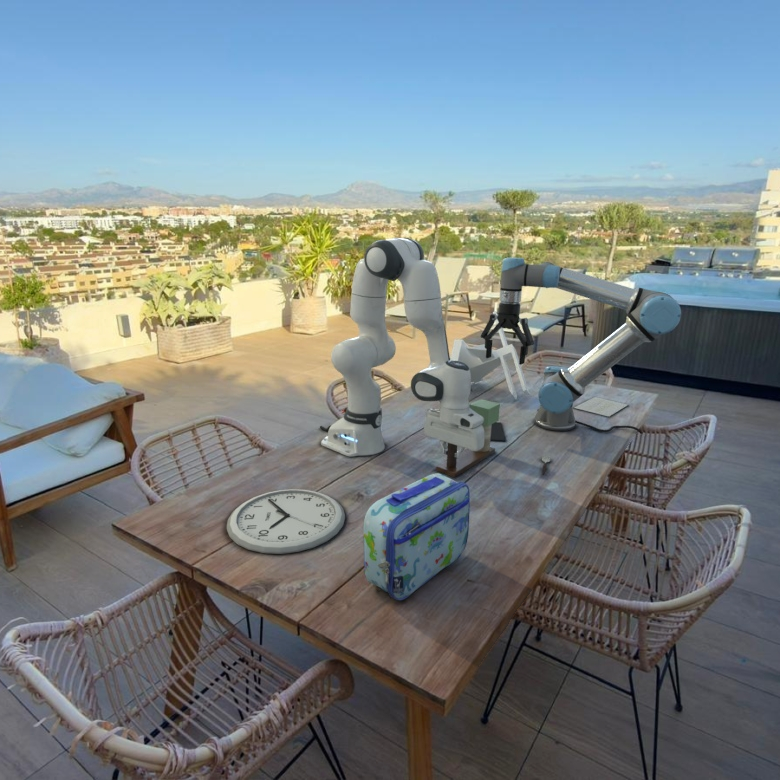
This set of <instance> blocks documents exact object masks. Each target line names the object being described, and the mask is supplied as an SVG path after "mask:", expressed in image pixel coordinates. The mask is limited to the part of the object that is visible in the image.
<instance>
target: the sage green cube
mask: <svg viewBox="0 0 780 780" xmlns="http://www.w3.org/2000/svg"><path fill="white" fill-rule="evenodd" d="M469 404H470V406H469V408H470V409H472V410H473V411H474V412H476V413H477V414H479V415H481V416H482V417H483V418H484V422H483V423H482V424H481V425H484V426H487V427H488V426H490V425H491V424H493V423H495V422H499V420H500V410H501V409H500V408H501V406H500V405H501V403H498V402H494V401H490V400H486V399H482V398H481V399H478V400H476V401H473V402H471V403H469Z"/></svg>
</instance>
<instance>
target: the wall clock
mask: <svg viewBox="0 0 780 780" xmlns="http://www.w3.org/2000/svg"><path fill="white" fill-rule="evenodd" d="M345 520H346V515H345V511H344V508H343V507H342V505H341V504H340V503H339V502H338V501H337V500H336V499H334V498H333V497H331V496H329V495H327V494H324V493H322V492H319V491H315V490H309V489H298V488H297V489H295V488H292V489H289V488H288V489H280V490H279V489H278V490H274V491H270V492H269V491H268V492H265V493H262V494H260V495H257V496H254V497H252V498H250V499H248V500H246V501H245V502H243V503H241V504H240V505H239V506H237V508H236V509H234V510H233V511H232V512H231V514H230V516H229V517H228V519H227V522H226V531H227V534H228V537H229V538H230V539H231V540H232V541H233V542H234V543H235V544H236V545H238V546H240V547H242V548H244V549H246V550H248V551H253V552H256V553H261V554H271V555H273V554H274V555H281V554H282V555H283V554H291V553H300V552H303V551H306V550H311V549H314V548H316V547H318V546H320V545H322V544H325V543H328V541H330V540H332V538H334V537H335V536H336V535H338V533H339V532H340V531H341V530H342V528H343V527H344V524H345Z"/></svg>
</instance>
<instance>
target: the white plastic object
mask: <svg viewBox="0 0 780 780" xmlns="http://www.w3.org/2000/svg"><path fill="white" fill-rule="evenodd" d="M492 314H496V315H498V314H499V313H498V312H497V311H496V310H495V311H492ZM498 323H499V322H498V320H497V319H496V320H495V324H496V325H497V324H498ZM496 325H495V326H496ZM498 335H499V338H500V342H501V345H502V347H500V348H498V349H496V350H495V349H492V353H491V357H490V358H486V348H485V343H483V344H479V345H473V346H469V345H468V343H466V342H465V340H464V339H463V338H460V339H458V338H454V340H453V344H452V349H451V353H450V360H453V361H460V362H462V363H464V364H466V365H467V366H468V367H469V369H470V375H471V383H473V384H477V383H480V382H482V381H484V378H485V377H486V376H487V375H489V374H490V373H492V372H494V371H495V370H496V369H497V368H499V367H500V366H502V370H503V373H504V376H505V380H506V383H507V386H508V390H509V393H510V394H511V395H512V397H513V398H514V399H515V400H517V392H516V391H517V390H516V388H515V385H514V381H513V378H512V375H511V371H510V369H509V365H508V361H510V360H513V363H514V366H515V369H516V372H517V376H518V380H519V382H520V385H521V389H522V391H523V393H524V395H525V396H526V397H528V396H531V395H530V390H529V388H528V387H529V386H528V384H527V381H526V378H525V375H524V371H523V369H522V368H523V367H522V366H521V365H522V364H521V365H520V364H519V360H520V358H519V355H518V352H517V349H516V347H515V346H514V345H513V343H511V344H508V341H507V337H506V334H505V331H504V328H500V329H499V331H498Z"/></svg>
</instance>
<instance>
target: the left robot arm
mask: <svg viewBox="0 0 780 780" xmlns="http://www.w3.org/2000/svg"><path fill="white" fill-rule="evenodd" d="M352 278H353V279H352V285H351V295H350V311H349V316H350V318H351V320H352V321H353V322H354V323H355V324H357V329H358V336H356V337H352V338H348V339H345V340H343V341H341V342H339V343H337V344H336V345H334V347H333V348H332V350H331V353H330V360H331V364H332V366H333V367H334V369H335V370H336V371H337V372H338V373H340V375H342V377H343V379H344V381H345V385H346V391H347V406H346V407H344V408H343V409H342V410H341V413H340V414H341V415H342V414H343V416H342V417H341V418H340V419H338V420H337V421H335V422H334V423H333V424H331V425H329V426H327V428H326V427H324V426H323V425H320V426H319V429H321V430H323V431H324V432H327V435H326V436H325V437H324V438H323V439H321V441H320V445H321V446H322V447H324V448H327V449H329V450H331V451H334V452H336V453H338V454H341V455H343V456H346V457H349V458H353V457H358V456H372V455H377V454H379V453H381V452H383V451H384V450H385V449H386V445H385V442H384V437H383V431H382V421H383V411H382V410H383V409H382V407H381V405H382V403H381V402H382V401H381V400H382V388H381V386H380V384H379V383H378V382H377V381H376V380H374V379H373V378H374V377H373V375H372V369H373V368H377V367H379V366H383V365H385V364H386V363H388V362H390V361H391V360H392V359H393V358H394V357H395V355H396V351H397V347H396V342H395V340H394V339H393V338H392V336H391V335H389V332H388V328H387V325H386V307H387V294H388V286H389V285H388V284H389V281H392V282H395V281H397V280H398V281H399V283H400V284H401V287H402V295H403V307H404V314H405V317H406V320H407V322H408V324H409V325H411V326H412V327H414V328H415V329H417V330H418V331H421V332H422V333H423V334H424V336H425V338H426V342H427V349H428V356H429V364H428V366H427V367H426V368H423V369H421V370H420V371H418V372H417V373H415V374H414V375H413V376H412V377H411V381H410V390H411V392H412V394H413V396H414V397H415V398H416V399H418V400H419V401H423V402H439V409H435V408H434V407H430V408H428V409H427V410H426V411H425V421H424V425H423V426H424V427H423V433H424V435H425V436H426V437H429V438H432V439H435V440H439V444H440V446H441V449H442V454H443V455H446V456H447V448H448V443H451V444H454V445H457V452H455V454H454V455H455V456H454V457H455V458H458V459H459V458H461V454H462V452H463V451H464V450H466V449H470V450H473V451H479V450H480V449H482V448H483V447H484V438H485V437H484V428H483V426H482V425H481V424H482V423H483V422H484V418H483V417H482V416H481V415H479V414H477V413H476V412H474V411H473V410H472V409H470V408H469V406H470V404H471V403H470V400H469V399H470V395H471V389H472V382H471V375H470V369H469V367H468V366H467V365H466V364H464V363H462V362H460V361H453V360H450V357H451V355H450V351H449V349H450V348H449V343H448V337H447V330H446V329H447V328H446V325H445V320H444V315H443V304H442V303H443V302H442V291H441V284H440V279H439V275H438V271H437V268H436V266H435V264H434V263H433V262H431V261H429V260H425V253H424V249H423V247H422V245H421V243H419V242H418V241H416V240H414V239H413V238H408V237H407V238H406V237H404V238H402V237H392V238H389V239H387V238H386V239H380V240H376V241H373V242H372V243H371V244H370V245H369V246H368V247H366V250H365V252H364V256H363V258H362V259H360V260H358V262H357V263H356V266H355V269H354V273H353V277H352Z"/></svg>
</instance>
